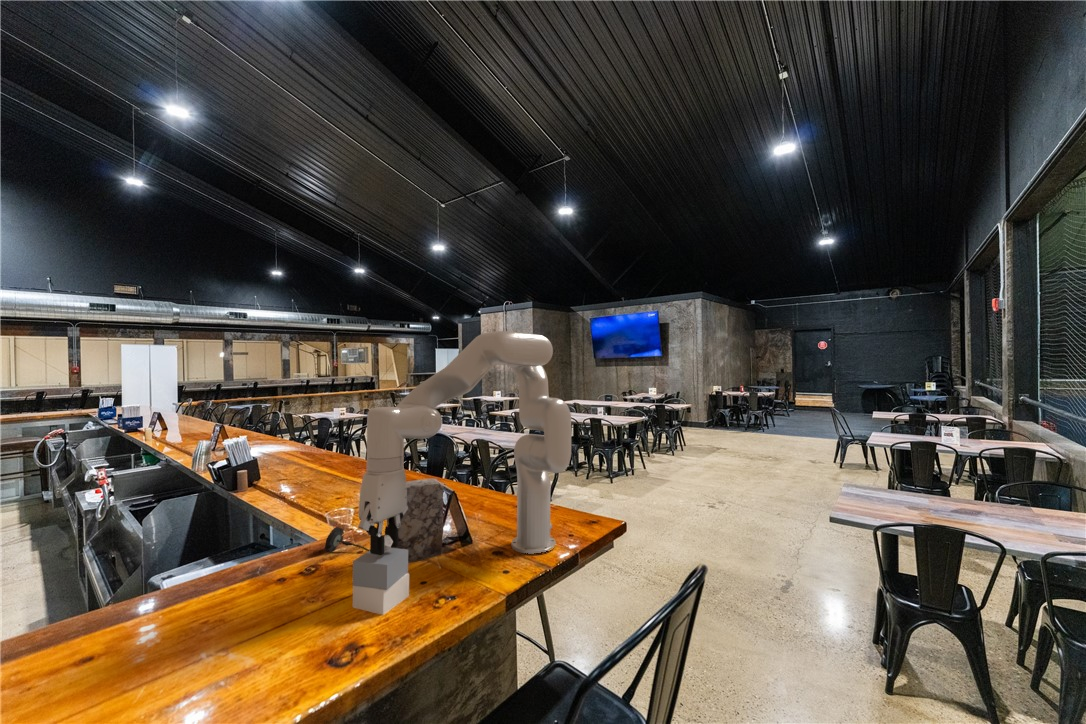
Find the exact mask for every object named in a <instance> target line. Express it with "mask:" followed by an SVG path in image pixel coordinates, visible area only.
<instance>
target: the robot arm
mask: <svg viewBox="0 0 1086 724" xmlns="http://www.w3.org/2000/svg"><path fill="white" fill-rule="evenodd" d="M553 352H554V348H553V345H552V342H551V341H550V339H548V337H546V336H544V335H542V334H537V333H526V332H516V331H506V330H505V331H504V330H503V331H501V330H500V331H492V332H485V333H481V334H479V335H477V336H475V338H473V340H471V342H469V343H468V345H467V346H466V347H465V348H464V349H462V350H461V351H460V352H459V354H458V355H457V356H455V357H454V358H453V359H452V361H450V362H449V363H448V365H446V366H445V367H443V368H442V369H441V370H438V371H437V372H436V373H435V374H433V375H432V376H431V377H429V378H427V379H426V380H424V381H423V382H421V383H419V384H418V385H417V386H415V387H414V388H413V389H412V390H411V391H410V392H409V393H408V394H407V395H406V396H405V397H404V398H403V399H402V400H401V401H399V403H398V404H396V406H379V407H373V408H370V409H369V410H368V412H367V417H366V421H367V422H366V472H365V473H363V476H362V479H361V485H360V493H359V501H358V519H359V520H360V521H359V524H358V529H360V530H363V531H364V532H366V533H367V534H368V536H370V545H369V547H370V548H369V550H370V552H371V554H376V555H383V554H384V535H389V536H390V537H391V539H392V541H393V543H392V545H391V547H394V548H396V547H398V528H399V527H400V525H401V523H400V521H401V519H402V518H403V515H404V514H405V512H406V511H407V510H408V506H407V486H406V482H407V479H406V477H407V475H406V472H405V468H404V467H405V466H404V465H405V464H404V459H405V457H404V456H405V455H404V454H405V453H404V452H405V451H404V450H405V446H404V445H405V439H418V440H421V439H430V438H432V437H433V436H435V435H436V434H438V433H439V431H440V430H441V428H442V425H443V419H442V415H441V413H440V412H439V411H438V409H436V408H437V407H438V406H441V405H442V404H443V403H445V402H447V401H449V400H452V399H456V398H458V397H461V396H464V395H466V394H467V393H469V392H471V391H472V390H473V389H474V388H475V387H476V386H477V384H479V382H480V381H481V380H482V379H483V378H484V377H485V375H487V373H488V372H490V371H491V369H492V368H493V367H495V366H499V365H500V366H501V365H508V366H509V367H510V369H512V371H514V374H515V376H516V377H517V380H518V381H517V382H518V415H519V422H520V424H521V425H522V427H523V428H526V429H528V430H532V431H538V432H543V435H542V434H535V433H528V434H524V435H522V436H520V437H519V438H518V439H517V441H516V442H515V444H514V449H513V456H514V462H515V468H516V477H517V478H516V479H517V488H516V489H517V491H516V493H517V494H516V495H517V497H516V498H517V499H516V501H517V502H516V508H517V509H516V537H514V538H513V539H512V541H511V548H512V549H513V550H514V551H516V552H517V553H522V554H525V553H526V555H535V554H534V553H541V552H546V551H548V550H550V549H552V548H553V547H554V546H555V544H556V543H557V542H556V540H555V538H554V537H552V536H551V529H552V528H553V524H552V523H551V479H550V475H549V473H552V474H560V473H562V472H564V471H565V470H566V469H567V468H568V467H569V465H570V461H571V458H572V414H571V410H570V408H569V406H568V404H567V403H566V402H565V401H564V400H563V399H561V398H558V397H550V395H549V379H548V375H547V372H546V370H545V368H544V367H543V366H545V365H546V364H548V363H549V362H550V361H551V359H552V357H553ZM384 521H386V526H388V527H386V526H385V528H384ZM375 524H376V526H375ZM383 529H384V534H383ZM556 545H557V544H556ZM391 547H390V548H391ZM555 547H556V546H555ZM527 553H528V554H527ZM546 553H547V552H546Z"/></svg>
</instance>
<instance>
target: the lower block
mask: <svg viewBox="0 0 1086 724" xmlns="http://www.w3.org/2000/svg"><path fill="white" fill-rule="evenodd" d="M408 597H410V573H409V572H408V573H407V574H406V575H404V576H403V577H402V578H401V579H400V580H398V581H397V582H396V583H395V584H393V585H392V586H391V587H390V588H389V589H387V590H383V589H375V588H368V587H360V586H353V585H352V608H353V609H354V608H355V609H358V610H361V611H365V612H370V613H373V614H379V615H382V616H384V615H385V614H387V613H388V612H390V611H391V610H392V609H393V608H395V607H396V606H398V605H399V604H400V603H401V602H403V601H404V600H406V599H407V598H408Z"/></svg>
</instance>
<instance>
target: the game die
mask: <svg viewBox="0 0 1086 724" xmlns="http://www.w3.org/2000/svg"><path fill="white" fill-rule="evenodd" d="M383 535H384V552H388V551H389V549H390V548H391V545H392V543H393V541H392V539H391V537H390V536H389V535H385V534H383Z"/></svg>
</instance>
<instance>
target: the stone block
mask: <svg viewBox="0 0 1086 724" xmlns="http://www.w3.org/2000/svg"><path fill="white" fill-rule="evenodd" d="M406 486H407V506H408V510H407V511H406V512H405V514H404V515H403V518H402V519H401V521H400V523H401V525H400V527H399V528H398V547H396V548H398V549H407V550H408V564H412V563H416V562H419V561H423V560H427V559H431V558H434V557H439V556H440V557H441V556H442V553H443V552H442V549H443V532H444V528H443V527H444V524H443V523H444V518H443V515H444V507H443V506H444V496H443V495H444V489H445V487H444V484H442V483H441V482H440V481H439V480H438V479H437V478H422V479H415V480H408V481H407V480H406ZM390 548H394V547H390Z"/></svg>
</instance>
